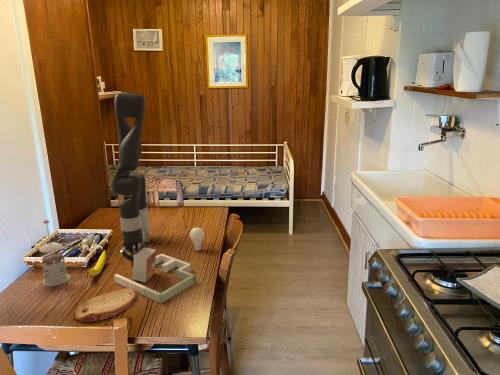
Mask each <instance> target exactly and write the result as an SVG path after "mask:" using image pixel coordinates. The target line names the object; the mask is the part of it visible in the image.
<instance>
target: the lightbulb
mask: <svg viewBox="0 0 500 375" xmlns="http://www.w3.org/2000/svg"><path fill="white" fill-rule="evenodd" d="M204 236H205V232H204V230H203V229H202V228H201V227H198V226H197V227H196V226H195V227H193V228H192V229H191V230H190V231H189V237H190V239H191V241H192V243H193V245H194V250H195V251H197V252H199V251H200V250H202V249H201V248H202V247H201V244H202V240H203V239H204Z"/></svg>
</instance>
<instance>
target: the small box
mask: <svg viewBox="0 0 500 375" xmlns="http://www.w3.org/2000/svg"><path fill="white" fill-rule="evenodd" d="M156 256H157V250H156V249H153V248H149V247H146V248H145V247H144V248H143V249H141V250H140V251H139V252H138V253H137V254H135V255H134V263H133V267H132V281H136V282H137V281H138V282H142V283H147V282H148V281H149V279H150V278H152V277H153V275H155V272H156V271H155V270H156V266H155V261H156Z"/></svg>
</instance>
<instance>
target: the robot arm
mask: <svg viewBox="0 0 500 375" xmlns="http://www.w3.org/2000/svg"><path fill="white" fill-rule="evenodd" d="M113 103H114V112H115V119H116V125H117V134H118V135H117V140H118V160H117V162H118V163H117V167H116V171H115V173H114V176H113V178H112V180H111V181H112V182H111V190H112V192H113V194H114V195H116V196H130V198H129V199H125V200H122V201H120V202H119V214H120V230H121V238H122V241H123V244H122V249H120V250H118V251H117V252H118V254H119V255H121V256H122V257H123V258H124V259H126V260H128V261H130V264H131V267H132V268H133V263H134V255H135V254H137V253H138V252H139V251H140V250H141V249H143V248H144V247H145V248H148V245H149V243H150V242H151V234H150V224H149V213H148V204H147V187H146V178H145V175H144V174H143V173H133V174H132V173H131V172H132V171H136V170H137V169H138V165H139V161H140V159H141V157H142V153H143V152H142V151H143V150H142V141H141V138H142V137H141V136H142V132H143V125H144V118H145V110H146V100H145V97H144V95H143V94H141V93H140V94H139V93H131V92H117V93H116V94H115V96H114V102H113ZM127 118H131V119H134V123H133V125H132V127H131V125H130V124H129V122H128V120H127Z"/></svg>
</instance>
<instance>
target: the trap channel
mask: <svg viewBox="0 0 500 375" xmlns="http://www.w3.org/2000/svg"><path fill="white" fill-rule="evenodd" d="M155 267H158V268H161V271H162V272H163V273H168V272H171V273H173V274H176V278H178V279H181V281H179V282H177V283H176V284H174V285H173V286H170V287H169V288H167V289H166V290H164V291H162V292H159V291H156V290H154V289H152V288H150V287H148V286H145V285H143V284H141V283H138V282H137V281H135V280H133V279H132V280H131V279H129V278H127V277H125V276H122V275H120V274H119V273H118V274H117V273H116V274H114V275H113V277H114V282H115V283H116V284H118V285H120V286H122V287H123V288H125V289H127V288H128V289H133V290H134V291H135V292H136V294H140V295H141V296H143V297H144V296H145V298H148V299H150V300H153V301H155V302H157V303H158V304H163V303H164V302H166V301H168V300H169V299H171V298H172V297H175V296H177V294H179V293H181V292H182V291H184V290H186V289H187V288H189V287H191V286H193V285H194V284H195V283H197V280H196V279H197V278H196V276H197V275H196V274H193V273H191V272H192V263H190V262H186V261H184V260H181V259H178V258H175V257H173V256H169V255H166V254H164V253H160V254H158V255H156V261H155Z"/></svg>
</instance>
